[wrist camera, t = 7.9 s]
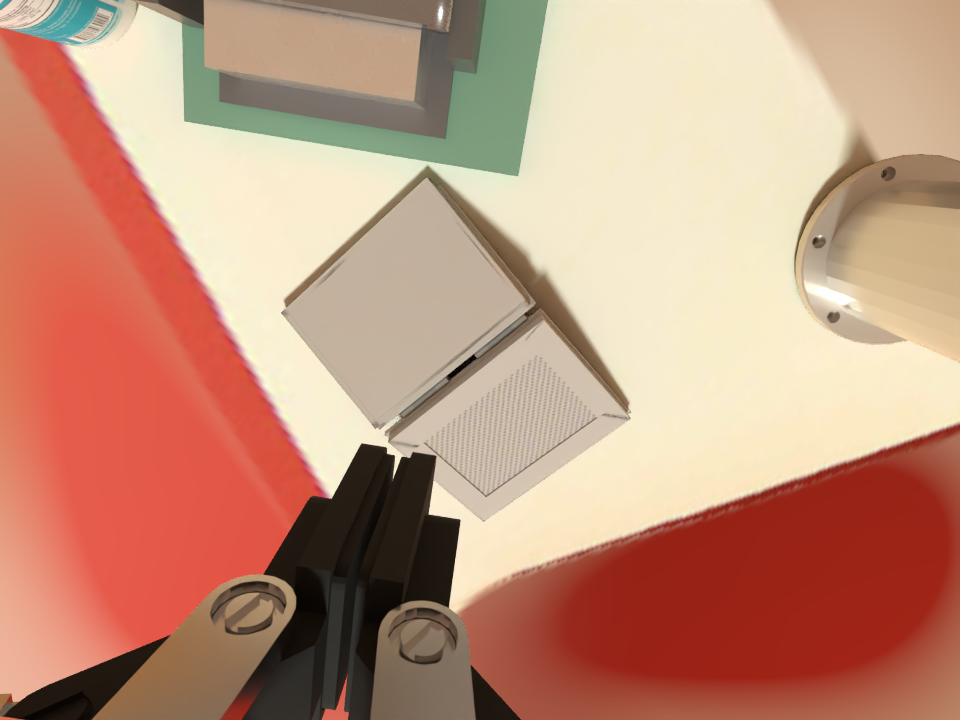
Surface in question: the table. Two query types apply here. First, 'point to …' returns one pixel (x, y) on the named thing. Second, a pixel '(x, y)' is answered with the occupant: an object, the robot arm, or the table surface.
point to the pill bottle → (70, 20)
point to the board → (471, 108)
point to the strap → (387, 11)
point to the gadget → (454, 354)
